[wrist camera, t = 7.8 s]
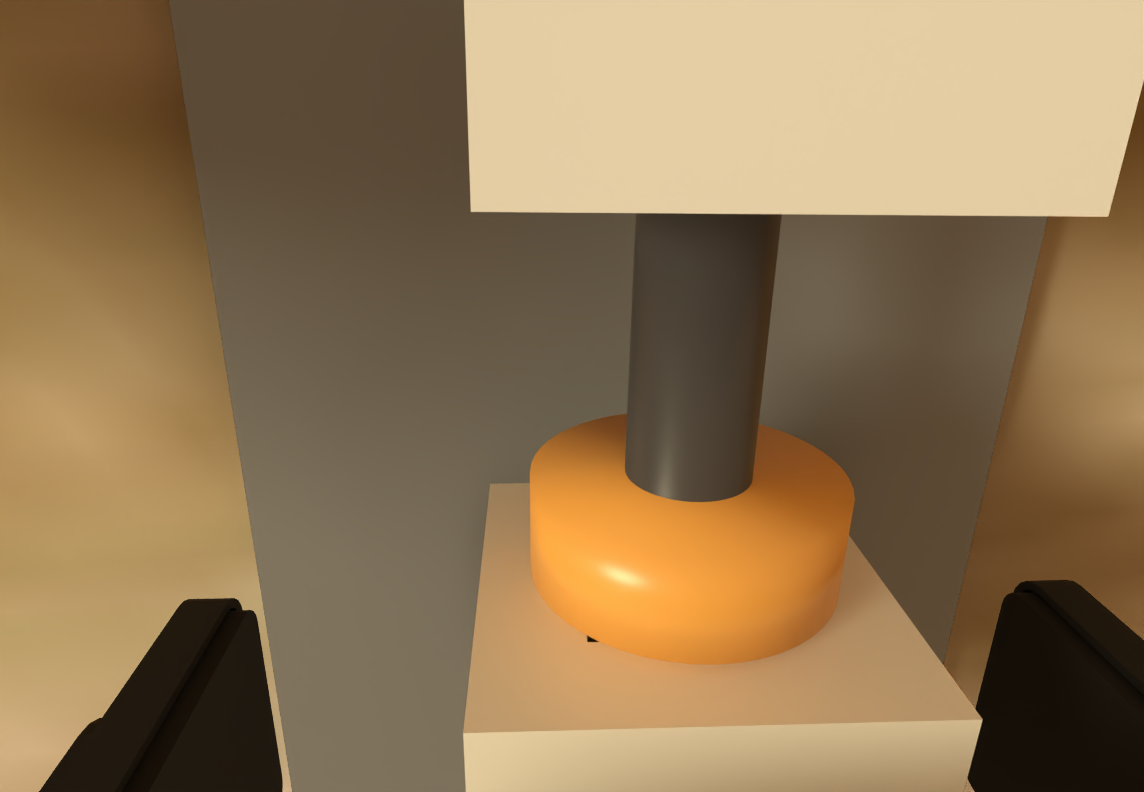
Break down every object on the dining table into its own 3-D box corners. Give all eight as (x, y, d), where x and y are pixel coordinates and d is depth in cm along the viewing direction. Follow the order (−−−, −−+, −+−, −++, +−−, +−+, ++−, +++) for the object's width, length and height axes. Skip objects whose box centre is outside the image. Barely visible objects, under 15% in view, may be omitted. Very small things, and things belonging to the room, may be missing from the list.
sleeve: (766, 779, 11) (880, 1107, 8) (498, 787, 11) (481, 1128, 8) (809, 480, 10) (982, 720, 6) (490, 483, 9) (462, 732, 6)
